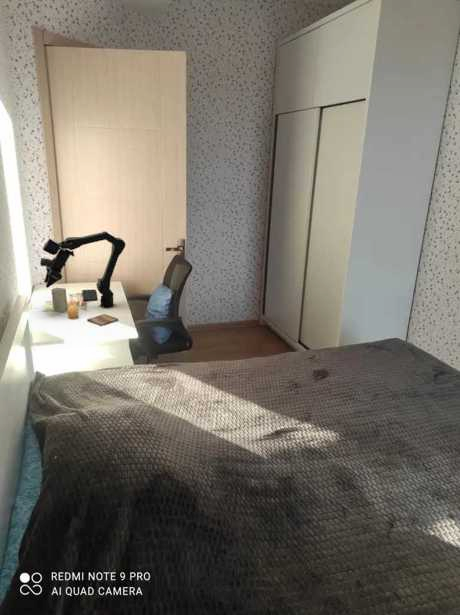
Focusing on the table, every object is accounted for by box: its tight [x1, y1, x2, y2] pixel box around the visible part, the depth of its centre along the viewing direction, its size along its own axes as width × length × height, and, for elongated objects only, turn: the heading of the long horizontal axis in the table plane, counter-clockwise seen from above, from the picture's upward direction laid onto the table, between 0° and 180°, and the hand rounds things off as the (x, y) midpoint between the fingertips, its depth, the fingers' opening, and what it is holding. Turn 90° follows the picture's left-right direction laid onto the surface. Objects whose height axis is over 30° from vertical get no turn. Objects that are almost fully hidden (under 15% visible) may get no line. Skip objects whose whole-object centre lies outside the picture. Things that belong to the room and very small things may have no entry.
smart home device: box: [82, 289, 98, 302], centre depth 274 cm, size 8×2×20 cm
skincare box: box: [51, 287, 68, 313], centre depth 245 cm, size 6×4×12 cm
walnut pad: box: [86, 313, 119, 327], centre depth 235 cm, size 11×11×1 cm
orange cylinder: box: [67, 304, 79, 320], centre depth 237 cm, size 5×5×6 cm
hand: (45, 284), depth 240 cm, fingers open, 9 cm apart
